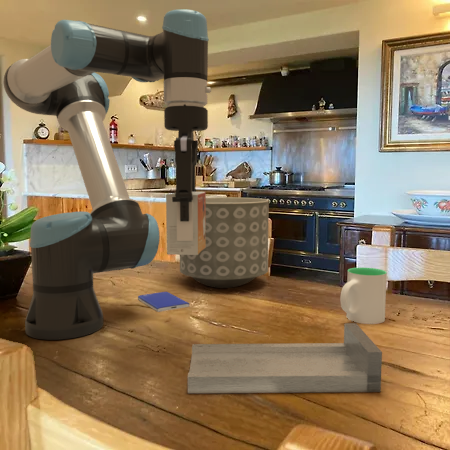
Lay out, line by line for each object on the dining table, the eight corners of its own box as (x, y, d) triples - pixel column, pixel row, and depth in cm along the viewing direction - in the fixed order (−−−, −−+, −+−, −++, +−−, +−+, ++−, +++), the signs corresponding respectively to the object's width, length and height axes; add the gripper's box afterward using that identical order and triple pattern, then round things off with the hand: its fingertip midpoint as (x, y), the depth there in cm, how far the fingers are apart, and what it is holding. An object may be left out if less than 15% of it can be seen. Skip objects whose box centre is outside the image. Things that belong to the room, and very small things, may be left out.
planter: (280, 291, 127) (281, 201, 124) (188, 297, 121) (187, 203, 118) (252, 272, 151) (253, 196, 148) (174, 276, 145) (173, 198, 142)
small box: (198, 256, 81) (197, 194, 80) (166, 255, 82) (165, 194, 80) (206, 247, 89) (206, 191, 88) (177, 246, 90) (176, 190, 88)
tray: (187, 393, 69) (187, 353, 68) (192, 358, 82) (192, 324, 81) (380, 391, 69) (382, 352, 69) (355, 357, 82) (356, 323, 81)
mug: (361, 330, 96) (362, 280, 94) (328, 321, 102) (329, 273, 100) (391, 318, 104) (393, 271, 102) (359, 310, 110) (360, 266, 108)
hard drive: (137, 295, 119) (157, 307, 109) (167, 291, 123) (189, 302, 113) (137, 301, 119) (157, 314, 109) (167, 297, 124) (189, 308, 113)
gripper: (206, 98, 72) (206, 246, 75) (208, 113, 93) (209, 228, 96) (156, 97, 72) (158, 246, 74) (170, 113, 93) (171, 228, 96)
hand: (186, 236), depth 85 cm, fingers closed on small box, 8 cm apart
